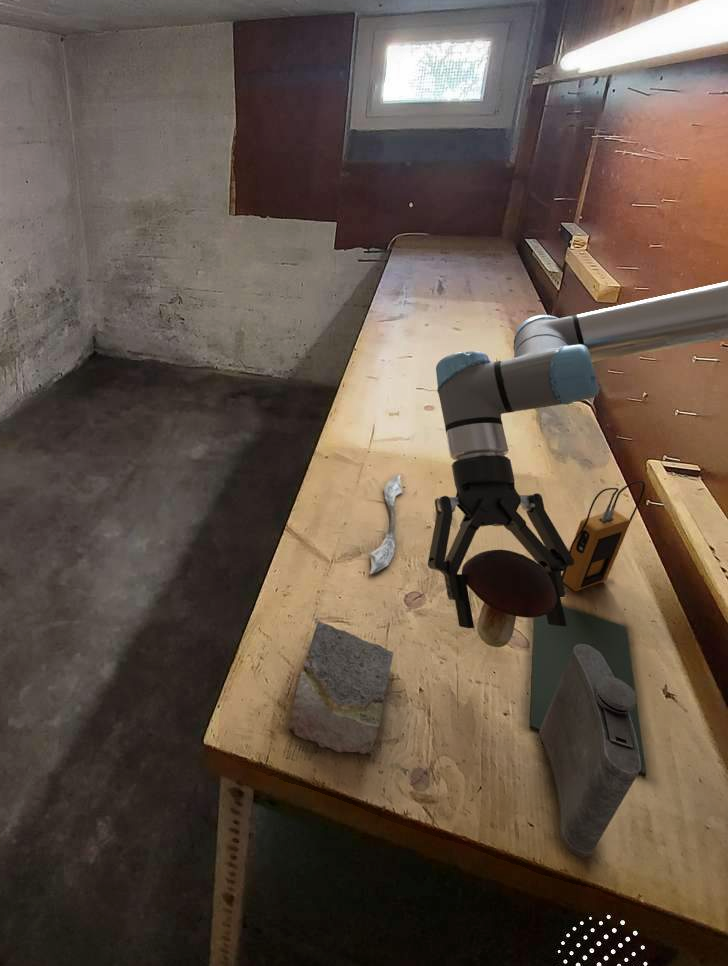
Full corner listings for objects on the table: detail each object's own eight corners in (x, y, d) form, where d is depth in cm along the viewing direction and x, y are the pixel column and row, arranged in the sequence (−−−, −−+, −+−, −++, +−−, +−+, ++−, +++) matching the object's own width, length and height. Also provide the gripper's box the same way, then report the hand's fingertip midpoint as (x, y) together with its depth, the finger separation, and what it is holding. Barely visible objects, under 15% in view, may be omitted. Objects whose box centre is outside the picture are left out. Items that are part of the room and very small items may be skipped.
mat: (625, 627, 85) (626, 626, 85) (645, 775, 66) (646, 774, 66) (534, 598, 90) (535, 596, 90) (529, 727, 72) (530, 725, 72)
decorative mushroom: (437, 609, 83) (454, 530, 76) (513, 609, 82) (537, 529, 76) (468, 676, 73) (491, 592, 67) (554, 676, 73) (586, 592, 66)
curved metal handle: (366, 575, 96) (397, 582, 94) (367, 572, 95) (397, 579, 94) (380, 471, 122) (403, 475, 121) (380, 469, 122) (404, 473, 120)
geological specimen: (395, 643, 78) (379, 739, 65) (388, 674, 80) (371, 772, 68) (318, 616, 82) (290, 701, 69) (314, 646, 84) (285, 733, 72)
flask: (570, 732, 71) (614, 635, 62) (604, 864, 59) (664, 766, 51) (537, 723, 72) (576, 627, 64) (564, 851, 60) (617, 754, 52)
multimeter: (569, 537, 102) (602, 445, 94) (623, 576, 94) (664, 478, 85) (505, 557, 98) (533, 463, 90) (555, 599, 90) (591, 499, 81)
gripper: (547, 461, 83) (584, 621, 76) (388, 466, 83) (411, 625, 76) (579, 450, 76) (624, 626, 69) (405, 455, 76) (432, 631, 69)
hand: (512, 626), depth 73 cm, fingers closed on decorative mushroom, 11 cm apart
